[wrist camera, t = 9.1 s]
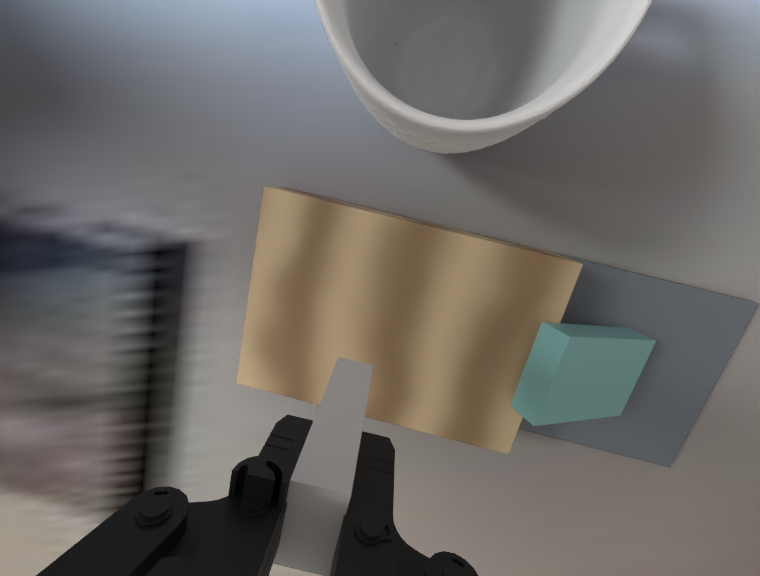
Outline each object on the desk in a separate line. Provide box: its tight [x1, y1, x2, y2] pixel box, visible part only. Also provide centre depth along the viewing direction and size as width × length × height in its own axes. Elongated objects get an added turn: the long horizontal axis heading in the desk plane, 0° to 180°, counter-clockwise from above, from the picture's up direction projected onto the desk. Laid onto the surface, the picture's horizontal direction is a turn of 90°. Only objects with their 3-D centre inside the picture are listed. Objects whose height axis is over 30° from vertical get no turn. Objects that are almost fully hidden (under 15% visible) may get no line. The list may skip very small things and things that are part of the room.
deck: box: [236, 186, 583, 454], centre depth 25 cm, size 20×14×4 cm
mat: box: [519, 254, 759, 467], centre depth 27 cm, size 14×14×1 cm
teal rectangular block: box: [510, 322, 656, 426], centre depth 23 cm, size 9×6×2 cm
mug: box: [315, 0, 653, 154], centre depth 16 cm, size 15×11×13 cm
